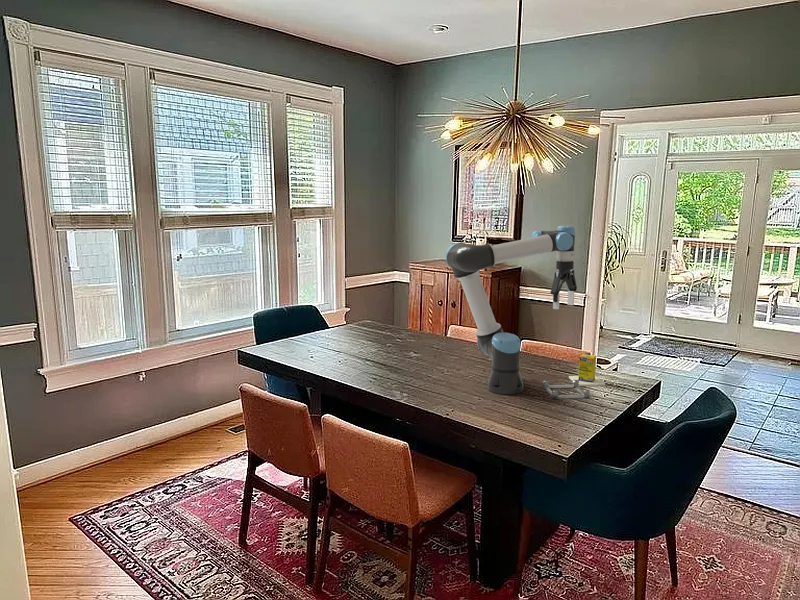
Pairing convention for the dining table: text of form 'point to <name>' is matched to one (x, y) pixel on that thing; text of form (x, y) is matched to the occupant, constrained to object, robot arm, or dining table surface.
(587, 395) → the grey rod square frame
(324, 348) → the dining table surface
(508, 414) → the dining table surface
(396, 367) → the dining table surface
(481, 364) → the dining table surface
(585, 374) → the supplement box
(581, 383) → the plate
